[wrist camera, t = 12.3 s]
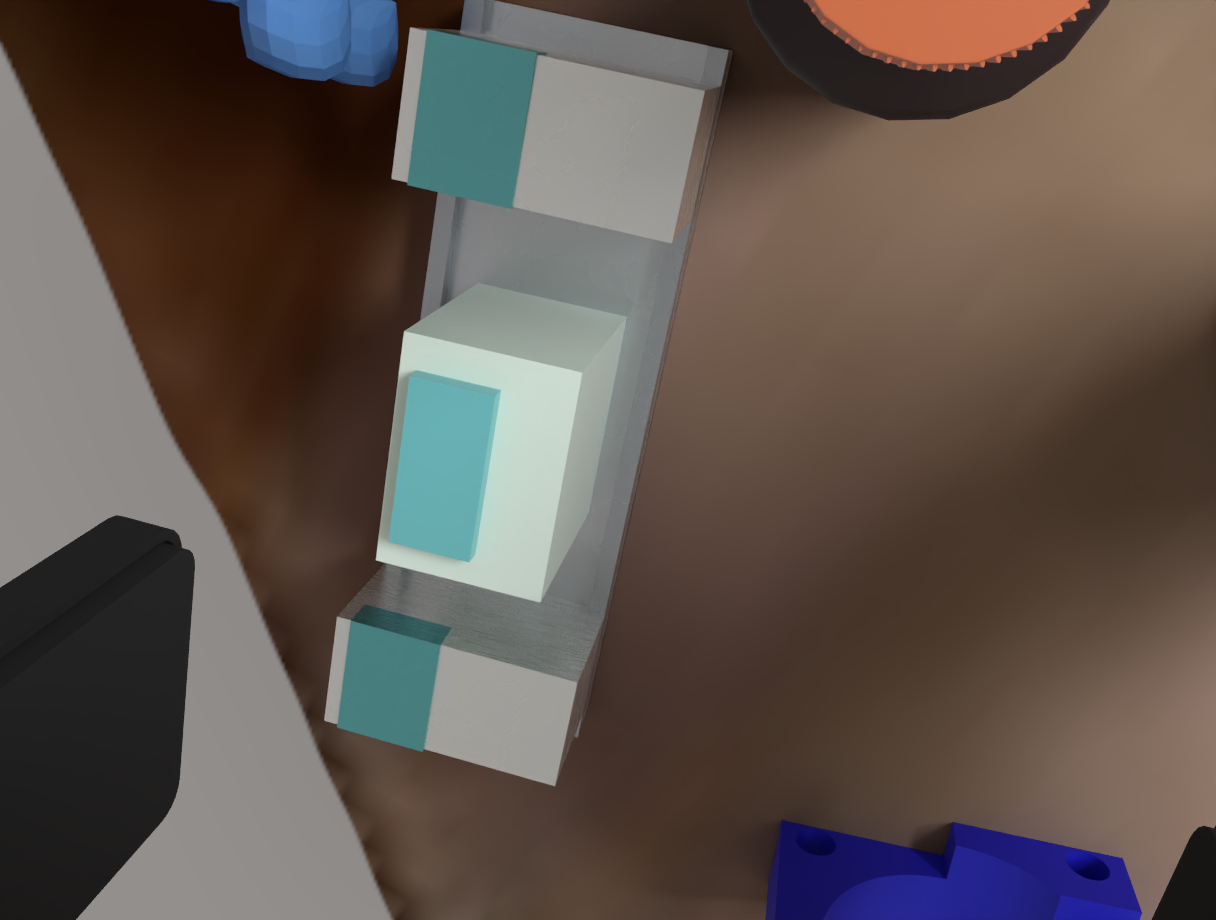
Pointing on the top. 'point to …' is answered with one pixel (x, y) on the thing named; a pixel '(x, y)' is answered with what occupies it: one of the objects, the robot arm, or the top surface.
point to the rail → (553, 269)
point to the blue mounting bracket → (943, 879)
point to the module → (497, 438)
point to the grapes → (322, 38)
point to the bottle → (921, 49)
